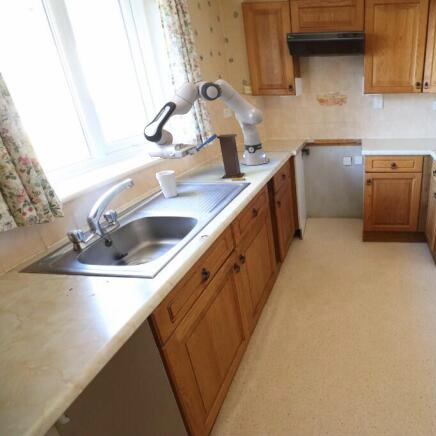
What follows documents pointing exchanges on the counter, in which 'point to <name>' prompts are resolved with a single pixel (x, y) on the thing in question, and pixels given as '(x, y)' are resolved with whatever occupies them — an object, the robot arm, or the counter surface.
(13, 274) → the counter surface
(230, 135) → the spoon stand
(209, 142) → the spoon
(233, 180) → the fry
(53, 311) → the counter surface
